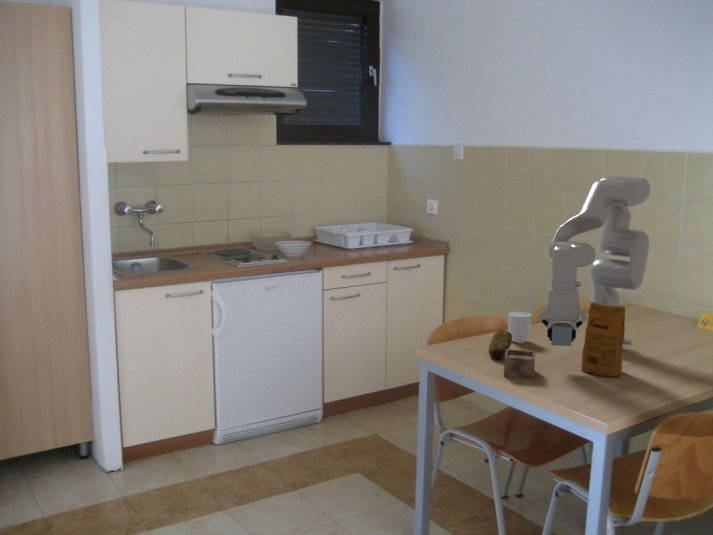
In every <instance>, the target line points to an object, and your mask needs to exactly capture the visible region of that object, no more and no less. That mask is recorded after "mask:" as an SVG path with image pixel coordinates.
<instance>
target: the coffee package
mask: <svg viewBox="0 0 713 535" xmlns="http://www.w3.org/2000/svg"><path fill="white" fill-rule="evenodd" d="M587 318H588V320H587V325H586V328H585V334H584V335H585V336H584V341H585V343H584V342H583V347H582V353H581V368H580V369H581V372H583V373H593V374H595V375H597V376H601V377H614V378H615V377H618V376H619V374H621V372H622V371H623V370H622V369H623V364H622V363H623V361H622V352H623V350H624V349H623V345H624V344H623V341H624V338H625V332H626V331H625V330H626V326H625V320H626V306H625V305H624V306H623V305H620V306H604V305H601V304H598V303H594V302H591V301H590V306H589V310H588V316H587Z"/></svg>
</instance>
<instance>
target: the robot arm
mask: <svg viewBox="0 0 713 535" xmlns="http://www.w3.org/2000/svg"><path fill="white" fill-rule="evenodd" d="M650 194H651V185H650V182H649V181H648V180H647V179H646V178H644V177H635V176H631V177H630V176H618V175H617V176H613V175H612V176H604V177H602V178H600V180H599V179H598V180H596V181H595V182H593V183H592V185H591V187H590V189H589V191H588V194H587V196H586V198H585V200H584V202H583V204H582V206H581V209H580V211H579V213H578V214H577V215H574V216H572V217H571V218H569V219H568V220H567V221H566V222H564V223H562V224H561V225H560V226H559V228H558V229H557V230H556V232H555V234H554V236H553V238H552V240H551V242H550V245H549V248H548V257H549V259H550V261H551V278H550V279H551V281H550V287H548V290H547V294H546V302H545V308H544V309H543V310H542V311H541V310H540V312H539V313H538V314H537V316H536V317H537V319H539V321H540V322H542V324H544V326H545V327H546V328H547V333H546V334H547V335H546V336H547V338H548V339H549V341H550V342H551V340H552V324H553V322H571V324H572V343H574V339H576V338H577V330H578V329H579V328H580V327H581V326H582V325H583V324H585V323H586V322H588V316H587V315H585V313H584V312H583V311H582V310H581V309H580V294H579V289H578V287H581V286H582V282H581V281H578V280H577V273H578V272H577V270H578V269H577V268H585V267H588V266H590V265H591V266H590V281H591V301H590V303H591V302H594V303H598V304H601V305H604V306H621V298H620V295H619V293H618V291H617V289H623V290H624V289H625V290H632V291H634V290H636V291H637V289H639V288H640V287H641V286H642V284H643V281H644V276H645V273H646V272H645V271H646V267H647V260H648V255H649V252H650V251H649V248H650V240H649V239H650V238H649V236H648V234H647V233H646V232H644V231H642V230H638V229H637V230H635V229H630V227H631V221H632V214H631V211H630V209H629V208H628V207H634V206H638V205H640V204H643V203H645V202H646V201H647V200H648V198H649V197H650ZM600 228H602V233H601V237H600V243H599V244H600V251H601V252H602V253H603V254H605V255H609V256H615V257H621V258H629V260H620V259H612V258H604V257H603V258H598V259H596V260H595V258H596V249H595V248H594V247H593V245H591V244H590V243H586V242H578V241H571V239H572V238H574V237H575V236H578V235H581V234H583V233H584V234H585V233H588V232H591V231H594V230H597V229H600ZM594 260H595V261H594ZM544 316H545V317H544ZM584 343H585V340H584V342H583V344H584ZM623 345H627V346H631V345H632V339H630V338H629V339H628V338H626V337H624V341H623Z"/></svg>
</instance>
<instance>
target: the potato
mask: <svg viewBox="0 0 713 535" xmlns="http://www.w3.org/2000/svg"><path fill="white" fill-rule="evenodd" d="M489 342H490V343H489V347H488V353H489V356H491V358H493V359H495V360H497V359H498V360H500V359H502V358H503V357H505V352H506V349H510V347H511V345H512V343H513V342H512V335H511V333H510V332H509V330H505V329H504V330H503V329H499V330H497V331H496V332H494V334H493V336H492V338H491V339H490V341H489Z"/></svg>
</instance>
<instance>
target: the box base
mask: <svg viewBox="0 0 713 535" xmlns="http://www.w3.org/2000/svg"><path fill="white" fill-rule="evenodd" d="M535 363H536V351H535V350H521V349H510V348H509V349H506V352H505V355H504V365H503V368H504V369H503V377H504V376H505V378H515V377H518V378H517V379H527V378H529V379H531V380H534V379H535V378H534V377H535V365H536V364H535Z"/></svg>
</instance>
